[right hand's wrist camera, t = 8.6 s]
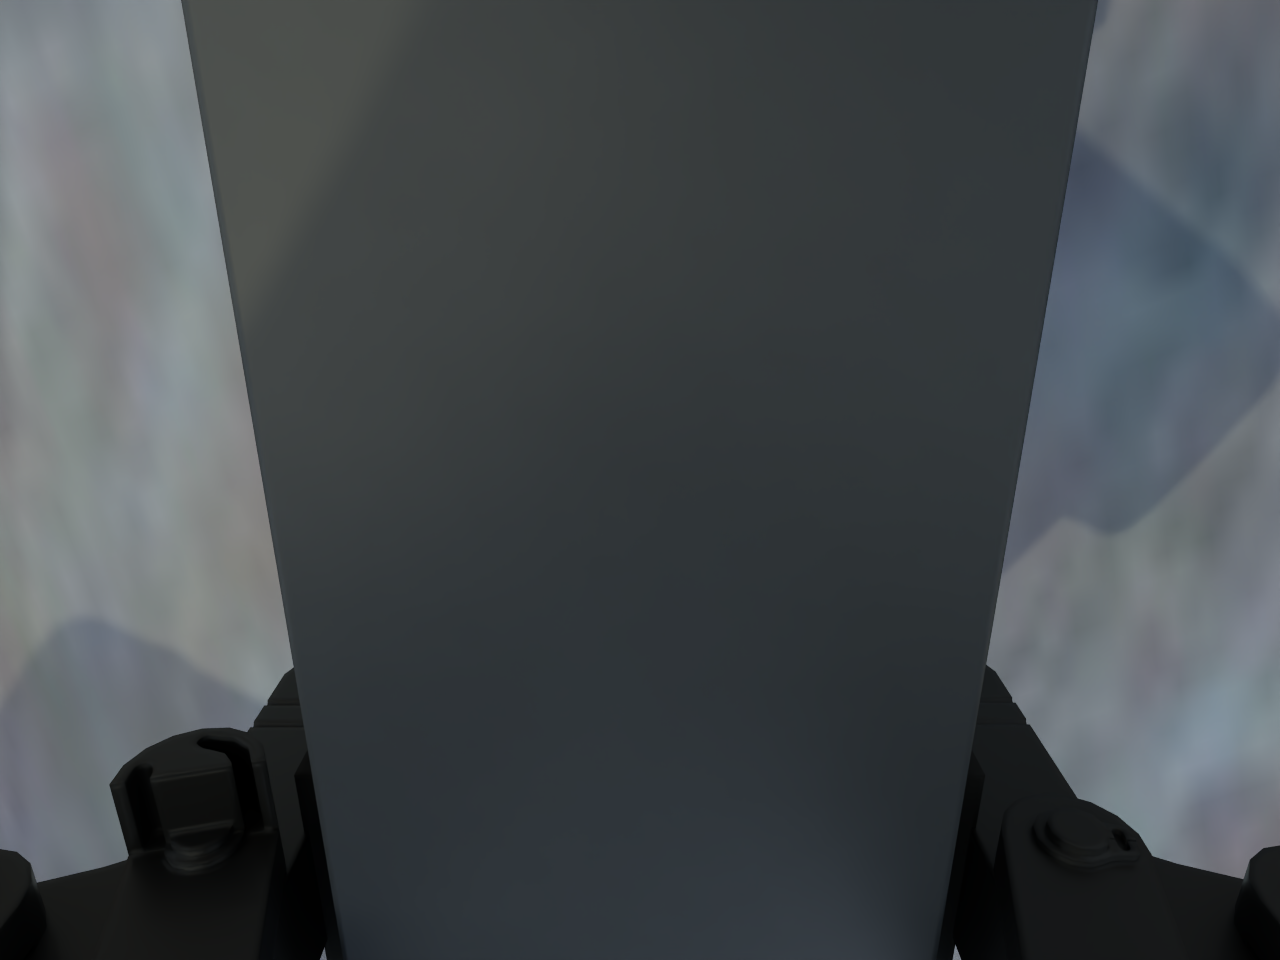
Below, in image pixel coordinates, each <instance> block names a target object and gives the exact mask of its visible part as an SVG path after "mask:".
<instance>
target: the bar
mask: <svg viewBox="0 0 1280 960" xmlns="http://www.w3.org/2000/svg"><path fill="white" fill-rule="evenodd" d="M181 2H182V7H183V13H184V19H185V25H186V31H187V37H188V43H189V49H190V55H191V61H192V67H193V73H194V79H195V84H196V90H197V96H198V102H199V108H200V114H201V120H202V126H203V132H204V138H205V144H206V150H207V156H208V161H209V167H210V173H211V179H212V185H213V191H214V197H215V203H216V209H217V215H218V221H219V227H220V233H221V238H222V244H223V250H224V256H225V262H226V268H227V274H228V280H229V286H230V292H231V298H232V304H233V310H234V316H235V321H236V327H237V333H238V339H239V345H240V351H241V357H242V363H243V369H244V375H245V381H246V387H247V393H248V398H249V404H250V410H251V416H252V422H253V428H254V434H255V440H256V446H257V452H258V458H259V464H260V470H261V475H262V481H263V487H264V493H265V499H266V505H267V511H268V517H269V523H270V529H271V535H272V541H273V547H274V552H275V558H276V564H277V570H278V576H279V582H280V588H281V594H282V600H283V606H284V612H285V618H286V624H287V629H288V635H289V641H290V647H291V653H292V659H293V665H294V671H295V677H296V683H297V689H298V695H299V701H300V707H301V712H302V718H303V724H304V730H305V736H306V742H307V748H308V754H309V760H310V766H311V772H312V778H313V784H314V789H315V795H316V801H317V807H318V813H319V819H320V825H321V831H322V837H323V843H324V849H325V855H326V861H327V866H328V872H329V878H330V884H331V890H332V896H333V902H334V908H335V914H336V920H337V926H338V932H339V938H340V943H341V949H342V955H343V960H936V958H937V952H938V946H939V940H940V934H941V928H942V922H943V916H944V911H945V905H946V899H947V893H948V887H949V881H950V875H951V869H952V863H953V857H954V851H955V845H956V839H957V833H958V828H959V822H960V816H961V810H962V804H963V798H964V792H965V786H966V780H967V774H968V768H969V762H970V756H971V750H972V744H973V739H974V733H975V727H976V721H977V715H978V709H979V703H980V697H981V691H982V685H983V679H984V673H985V667H986V661H987V656H988V650H989V644H990V638H991V632H992V626H993V620H994V614H995V608H996V602H997V596H998V590H999V584H1000V578H1001V573H1002V567H1003V561H1004V555H1005V549H1006V543H1007V537H1008V531H1009V525H1010V519H1011V513H1012V507H1013V501H1014V495H1015V490H1016V484H1017V478H1018V472H1019V466H1020V460H1021V454H1022V448H1023V442H1024V436H1025V430H1026V424H1027V418H1028V412H1029V407H1030V401H1031V395H1032V389H1033V383H1034V377H1035V371H1036V365H1037V359H1038V353H1039V347H1040V341H1041V335H1042V329H1043V324H1044V318H1045V312H1046V306H1047V300H1048V294H1049V288H1050V282H1051V276H1052V270H1053V264H1054V258H1055V252H1056V246H1057V240H1058V235H1059V229H1060V223H1061V217H1062V211H1063V205H1064V199H1065V193H1066V187H1067V181H1068V175H1069V169H1070V163H1071V157H1072V152H1073V146H1074V140H1075V134H1076V128H1077V122H1078V116H1079V110H1080V104H1081V98H1082V92H1083V86H1084V80H1085V74H1086V69H1087V63H1088V57H1089V51H1090V45H1091V39H1092V33H1093V27H1094V21H1095V15H1096V9H1097V3H1098V0H181Z"/></svg>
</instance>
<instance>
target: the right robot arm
mask: <svg viewBox="0 0 1280 960" xmlns="http://www.w3.org/2000/svg"><path fill="white" fill-rule="evenodd" d="M110 789H111V792H112V796H113V799H114V803H115V807H116V810H117V814H118V818H119V821H120V825H121V829H122V832H123V836H124V840H125V843H126V847H127V850H128V854H129V856H128V859H127V860H125V861H122V862H119V863H115V864H112V865H109V866H106V867H102V868H98V869H94V870H90V871H85V872H81V873H77V874H73V875H68V876H64V877H60V878H55V879H51V880H47V881H43V882H38V883H37V882H36V879H35V876H34V873H33V870H32V867H31V864H30V863H29V862H28V861H27V860H26V859H25V858H23V857H22V856H21V855H20V854H19V853H18V852H14V851H8V850H2V849H0V960H320V958H321V955H322V952H323V950H324V947H325V952H326V957H327V960H343V955H342V949H341V943H340V938H339V932H338V926H337V920H336V914H335V908H334V902H333V896H332V890H331V884H330V878H329V872H328V866H327V861H326V855H325V849H324V843H323V837H322V831H321V825H320V819H319V813H318V807H317V801H316V795H315V789H314V784H313V778H312V772H311V766H310V760H309V754H308V748H307V742H306V736H305V730H304V724H303V718H302V712H301V707H300V701H299V695H298V689H297V683H296V677H295V671H294V668H292V669H291V670H290V671H288V672H287V673H286V674H284V676H283V677H282V679H281V681H280V682H279V684H278V685H277V687H276V688H275V690H274V691H273V693H272V695H271V696H270V698H269V699H268V705H267V706H264V707H263V709H262V710H261V712H260V713H259V715H258V716H257V718H256V719H255V721H254V727H250V729H249V730H248V732H244V731H240V730H236V729H232V728H206V729H199V730H195V731H191V732H187V733H183V734H179V735H175V736H172V737H170V738H168V739H166V740H163V741H161V742H159V743H157V744H155V745H153V746H150V747H148V748H146V749H145V750H143V751H142V752H141V753H139V754H138V755H137V756H135V757H134V758H133V759H131V760H130V761H129V762H127V763H126V764H125V765H123V767H122V768H121V769H120V771H119V772H118V774H117V775H116V776H115V778H114V779H113V780H112V782H111V783H110ZM955 944H956V947H957V950H958V952H959V955H960V957H961V960H1280V846H1274V847H1268V848H1263V849H1262V850H1261V851H1260V852H1258V853H1257V854H1256V855H1255V856H1254V857H1253V858H1251V859H1250V861H1249V864H1248V867H1247V871H1246V874H1245V877H1244V879H1240V878H1236V877H1231V876H1227V875H1223V874H1218V873H1214V872H1210V871H1206V870H1201V869H1197V868H1193V867H1188V866H1184V865H1180V864H1176V863H1173V862H1170V861H1166V860H1163V859H1160V858H1156V857H1153V856H1152V855H1151V853H1150V851H1149V850H1148V848H1147V847H1146V845H1145V843H1144V842H1143V840H1142V839H1141V837H1140V835H1139V834H1138V833H1137V832H1136V831H1134V830H1133V829H1132V828H1131V827H1130V826H1129V825H1127V824H1126V823H1125V822H1124V821H1123V820H1121V819H1120V818H1119V817H1118V816H1116V815H1114V814H1113V813H1111V812H1109V811H1107V810H1105V809H1103V808H1101V807H1099V806H1097V805H1095V804H1093V803H1091V802H1088V801H1084V800H1081V799H1078V798H1077V797H1076V795H1075V794H1074V792H1073V791H1072V789H1071V788H1070V786H1069V784H1068V783H1067V781H1066V780H1065V778H1064V777H1063V775H1062V774H1061V772H1060V771H1059V769H1058V767H1057V766H1056V764H1055V763H1054V761H1053V760H1052V758H1051V757H1050V755H1049V754H1048V752H1047V751H1046V749H1045V747H1044V746H1043V744H1042V743H1041V741H1040V740H1039V738H1038V737H1037V735H1036V734H1035V732H1034V730H1033V729H1032V727H1031V726H1030V724H1026V718H1025V717H1024V715H1023V713H1022V712H1021V710H1020V709H1019V707H1018V706H1017V704H1016V703H1013V702H1012V697H1011V695H1010V693H1009V692H1008V690H1007V689H1006V687H1005V686H1004V684H1003V683H1002V681H1001V680H1000V678H999V676H998V675H997V673H996V672H995V671H994V670H992V669H991V668H990V667H988V666H987V665H986V667H985V673H984V679H983V685H982V691H981V697H980V703H979V709H978V715H977V721H976V727H975V733H974V739H973V744H972V750H971V756H970V762H969V768H968V774H967V780H966V786H965V792H964V798H963V804H962V810H961V816H960V822H959V828H958V833H957V839H956V845H955V851H954V857H953V863H952V869H951V875H950V881H949V887H948V893H947V899H946V905H945V911H944V916H943V922H942V928H941V934H940V940H939V946H938V952H937V958H936V960H953V954H954V948H955Z"/></svg>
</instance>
